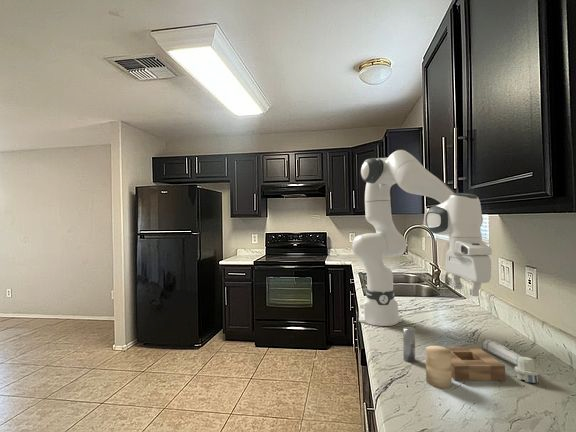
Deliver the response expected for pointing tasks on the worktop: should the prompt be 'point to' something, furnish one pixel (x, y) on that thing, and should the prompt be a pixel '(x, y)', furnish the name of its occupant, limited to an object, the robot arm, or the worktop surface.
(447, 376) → the fat post
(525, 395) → the worktop surface
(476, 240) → the robot arm
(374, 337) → the worktop surface
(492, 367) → the socket block
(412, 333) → the cylinder
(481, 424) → the worktop surface
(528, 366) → the toothbrush head
